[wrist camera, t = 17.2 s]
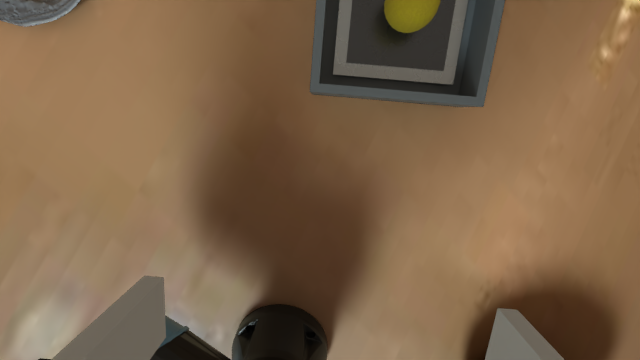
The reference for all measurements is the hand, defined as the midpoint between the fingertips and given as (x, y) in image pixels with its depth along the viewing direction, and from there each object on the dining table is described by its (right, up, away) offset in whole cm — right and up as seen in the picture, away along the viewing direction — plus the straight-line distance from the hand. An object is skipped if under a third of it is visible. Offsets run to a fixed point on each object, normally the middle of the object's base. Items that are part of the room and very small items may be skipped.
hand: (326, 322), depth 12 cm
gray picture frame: (+10, +26, +24) cm, 37 cm away
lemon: (+10, +25, +24) cm, 36 cm away
